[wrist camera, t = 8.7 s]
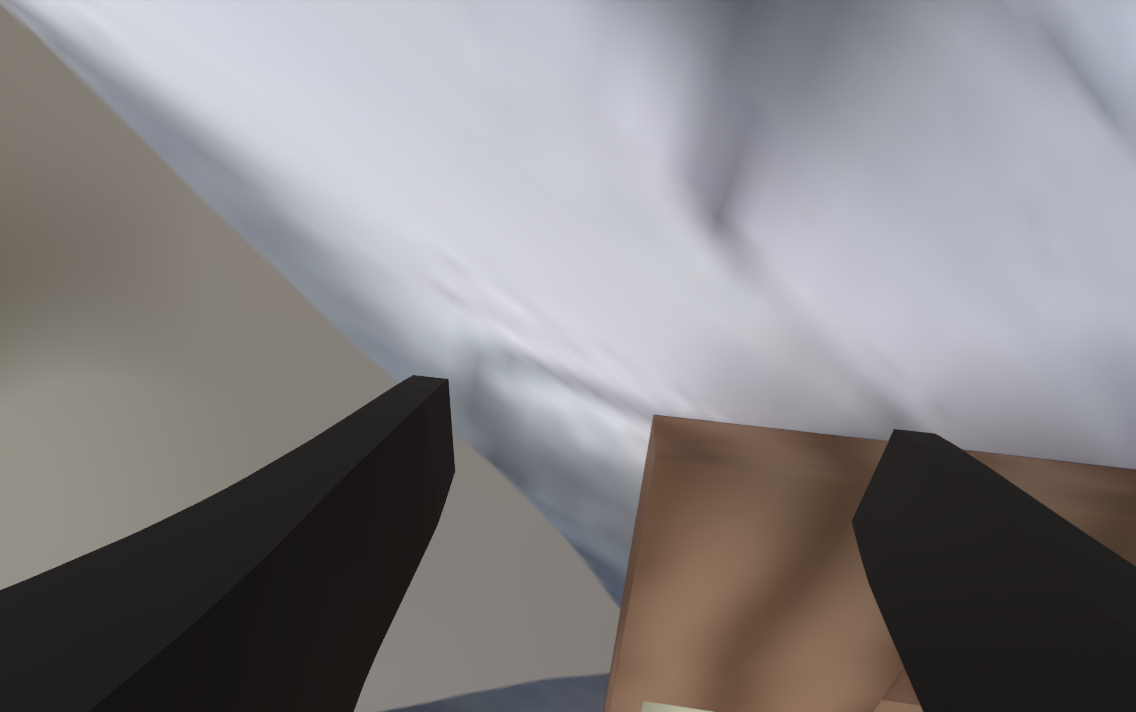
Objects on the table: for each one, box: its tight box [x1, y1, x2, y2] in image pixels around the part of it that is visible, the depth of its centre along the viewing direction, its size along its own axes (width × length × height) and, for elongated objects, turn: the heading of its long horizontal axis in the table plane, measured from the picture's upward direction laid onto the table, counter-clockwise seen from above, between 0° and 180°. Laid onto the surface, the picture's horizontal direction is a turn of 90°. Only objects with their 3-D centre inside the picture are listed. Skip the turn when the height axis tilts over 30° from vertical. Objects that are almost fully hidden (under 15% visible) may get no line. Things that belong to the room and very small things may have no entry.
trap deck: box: [603, 415, 1136, 712], centre depth 24 cm, size 21×26×2 cm
